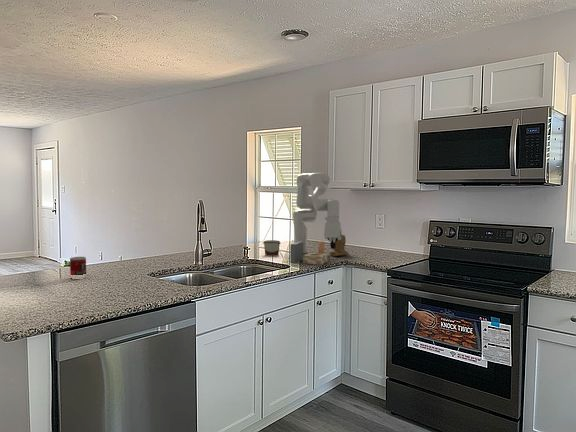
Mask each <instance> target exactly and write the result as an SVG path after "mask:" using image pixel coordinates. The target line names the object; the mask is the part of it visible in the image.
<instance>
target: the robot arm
mask: <svg viewBox="0 0 576 432" xmlns="http://www.w3.org/2000/svg"><path fill="white" fill-rule="evenodd" d="M330 179H331V178H330V175H329V174H328V173H327V172H312V173H301V174H298V175H297V178H296V187H297V193H296V202H295V203H296V207H297V208H298V209H295V210H294V211H293V213H292V220H293V243H296V242H303V255H305V254H308V253H310V250H308V248H309V246H308V227H307V225H306V224H305V223H314V222H316V220H317V216H318V215H317V214H318V212H326V217H324V220H325V223H324V224H325V225H324V233H323V234H324V235H323V236H324V239H325V240H328V241H329V243H330V245H329V246H330V249H331V250H334V249H335V248H336V242H337V241H338V240H341V239H342V238H341V235H343V233H342V225H341V224H342V223H341V221H340V200H339V199H332V198H330V199H329V198H328V199H327V198H319V197H321V196H323V195H325V193H326V192H327V187H326V186H328V185H329V184H330V181H331V180H330ZM310 186H311V189H312V190H313V192H312V194H310ZM333 238H334V240H333Z"/></svg>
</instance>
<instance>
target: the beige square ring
mask: <svg viewBox="0 0 576 432" xmlns="http://www.w3.org/2000/svg"><path fill="white" fill-rule="evenodd" d="M306 263H307V264H308V265H320V266H321V265H324V264H325V263H328V254H327V253H324V254H319V253H318V252H317V253H315V252H309V253H304V254H303V260H302V264H306ZM307 264H306V265H307Z"/></svg>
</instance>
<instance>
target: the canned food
mask: <svg viewBox="0 0 576 432" xmlns="http://www.w3.org/2000/svg"><path fill="white" fill-rule="evenodd" d="M69 266H70V267H69V268H70V269H69V271H70V272H69V273H70V275H83V274H86V275H87V258H86V256H74V257H70V258H69Z"/></svg>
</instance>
